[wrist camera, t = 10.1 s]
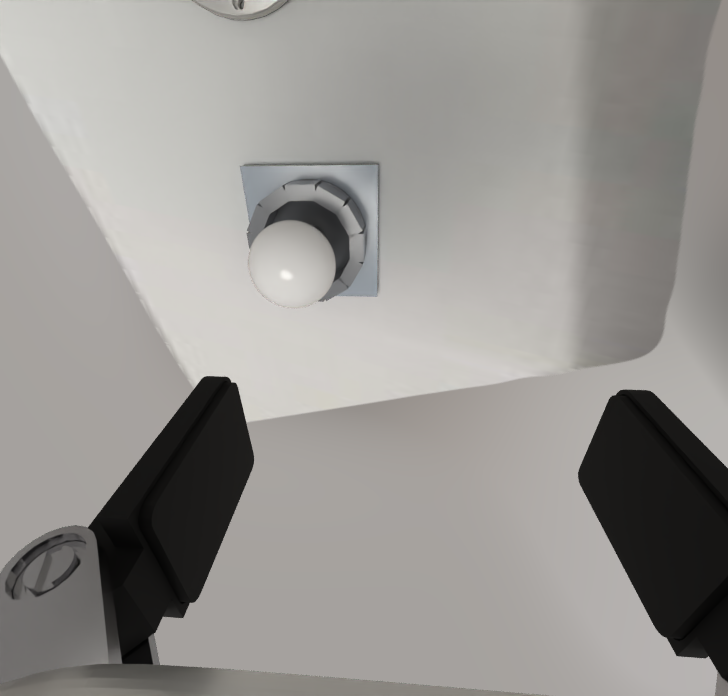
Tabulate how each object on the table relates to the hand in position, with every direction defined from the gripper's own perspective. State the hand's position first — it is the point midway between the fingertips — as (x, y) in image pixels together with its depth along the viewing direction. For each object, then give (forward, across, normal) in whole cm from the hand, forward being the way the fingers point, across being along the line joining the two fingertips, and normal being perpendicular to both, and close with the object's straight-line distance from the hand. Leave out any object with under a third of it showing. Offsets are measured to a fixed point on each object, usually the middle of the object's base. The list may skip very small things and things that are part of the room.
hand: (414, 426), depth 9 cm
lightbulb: (+27, +8, +2) cm, 28 cm away
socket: (+28, +8, +2) cm, 29 cm away
